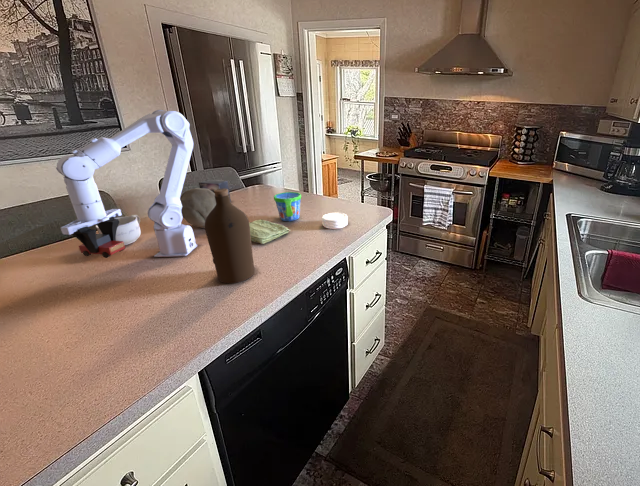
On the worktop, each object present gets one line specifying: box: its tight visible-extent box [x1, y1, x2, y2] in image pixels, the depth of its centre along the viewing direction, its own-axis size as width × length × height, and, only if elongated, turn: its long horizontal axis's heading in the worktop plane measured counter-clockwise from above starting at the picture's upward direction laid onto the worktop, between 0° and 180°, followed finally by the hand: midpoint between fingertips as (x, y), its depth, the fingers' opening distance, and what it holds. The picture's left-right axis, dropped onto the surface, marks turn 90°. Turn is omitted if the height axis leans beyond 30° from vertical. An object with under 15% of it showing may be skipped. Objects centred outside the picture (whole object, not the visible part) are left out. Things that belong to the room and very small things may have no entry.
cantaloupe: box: [180, 187, 216, 229], centre depth 123 cm, size 14×14×15 cm
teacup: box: [95, 214, 142, 246], centre depth 111 cm, size 14×11×8 cm
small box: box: [198, 178, 232, 203], centre depth 151 cm, size 11×6×10 cm, turn 81°
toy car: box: [78, 233, 126, 259], centre depth 90 cm, size 9×5×5 cm, turn 84°
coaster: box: [321, 212, 349, 230], centre depth 129 cm, size 10×10×4 cm
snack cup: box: [273, 191, 302, 222], centre depth 133 cm, size 16×10×10 cm
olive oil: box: [204, 188, 255, 284], centre depth 88 cm, size 11×11×25 cm
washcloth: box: [249, 219, 290, 245], centre depth 118 cm, size 13×18×3 cm
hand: (103, 248), depth 90 cm, fingers closed on toy car, 4 cm apart
